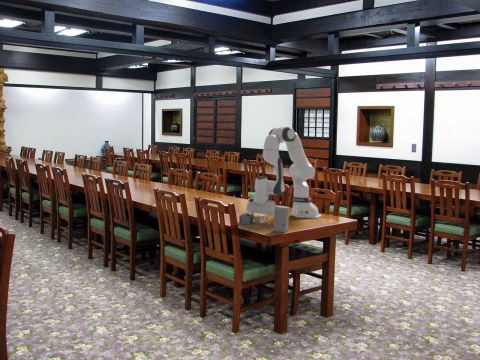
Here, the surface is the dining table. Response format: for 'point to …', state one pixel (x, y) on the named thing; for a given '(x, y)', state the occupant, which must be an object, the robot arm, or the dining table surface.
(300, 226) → the dining table surface
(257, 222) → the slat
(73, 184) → the dining table surface
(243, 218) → the end cap
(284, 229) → the skincare box
